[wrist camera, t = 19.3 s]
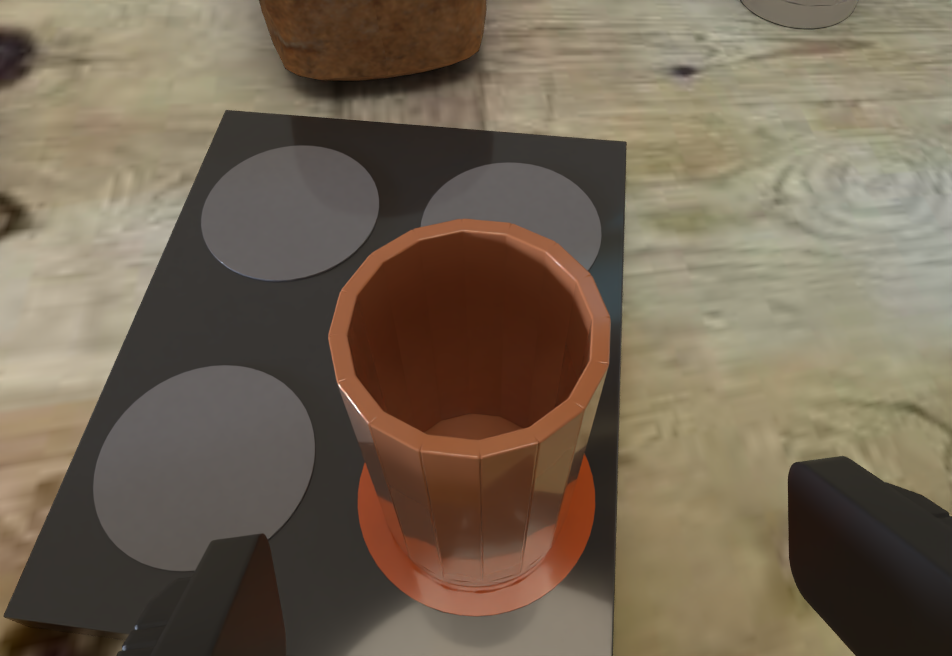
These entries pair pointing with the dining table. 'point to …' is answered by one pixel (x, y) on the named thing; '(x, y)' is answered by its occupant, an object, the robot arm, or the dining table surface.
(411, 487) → the cup
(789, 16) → the cup
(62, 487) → the stove
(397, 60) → the bread
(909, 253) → the dining table surface
